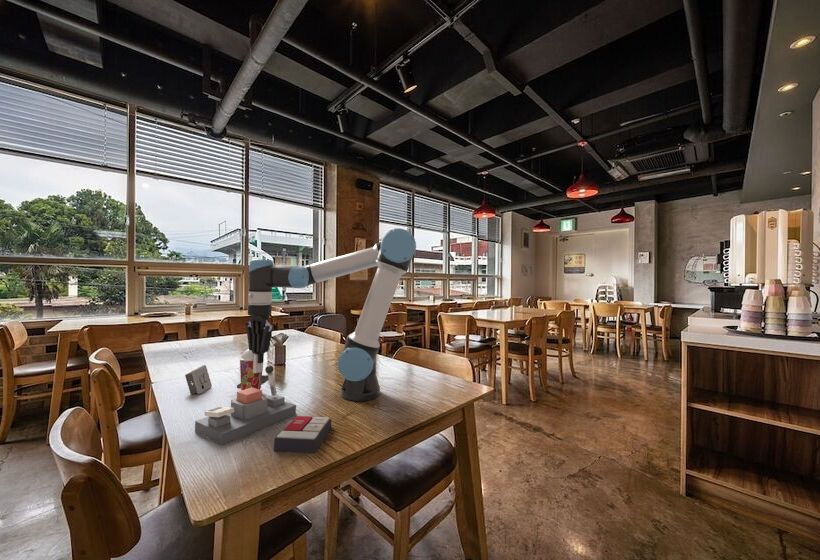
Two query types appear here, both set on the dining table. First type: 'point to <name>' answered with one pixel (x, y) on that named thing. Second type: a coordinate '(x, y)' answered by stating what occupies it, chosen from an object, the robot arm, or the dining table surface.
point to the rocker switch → (219, 411)
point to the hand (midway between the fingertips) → (257, 371)
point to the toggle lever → (271, 379)
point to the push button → (249, 395)
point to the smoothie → (249, 372)
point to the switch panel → (245, 419)
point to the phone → (264, 378)
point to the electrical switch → (198, 380)
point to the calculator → (302, 435)
